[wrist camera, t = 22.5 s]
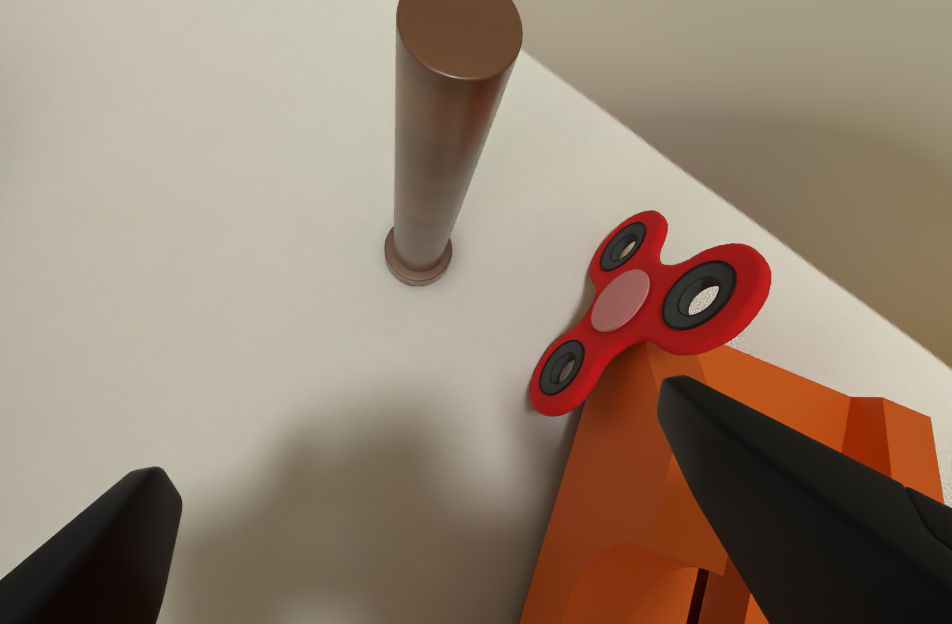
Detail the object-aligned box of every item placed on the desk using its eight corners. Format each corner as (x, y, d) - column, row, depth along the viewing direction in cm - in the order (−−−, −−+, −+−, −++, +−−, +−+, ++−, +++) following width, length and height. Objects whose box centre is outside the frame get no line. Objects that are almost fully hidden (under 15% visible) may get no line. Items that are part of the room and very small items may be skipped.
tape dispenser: (745, 816, 20) (989, 1112, 12) (471, 736, 18) (532, 1007, 10) (820, 411, 24) (1042, 423, 16) (598, 321, 22) (715, 282, 14)
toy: (620, 229, 24) (606, 217, 23) (828, 162, 15) (810, 141, 14) (527, 411, 21) (510, 400, 21) (707, 469, 12) (681, 451, 12)
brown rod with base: (445, 290, 21) (537, 119, 8) (380, 280, 21) (358, 80, 7) (453, 229, 22) (552, -29, 8) (390, 218, 22) (386, -74, 8)
